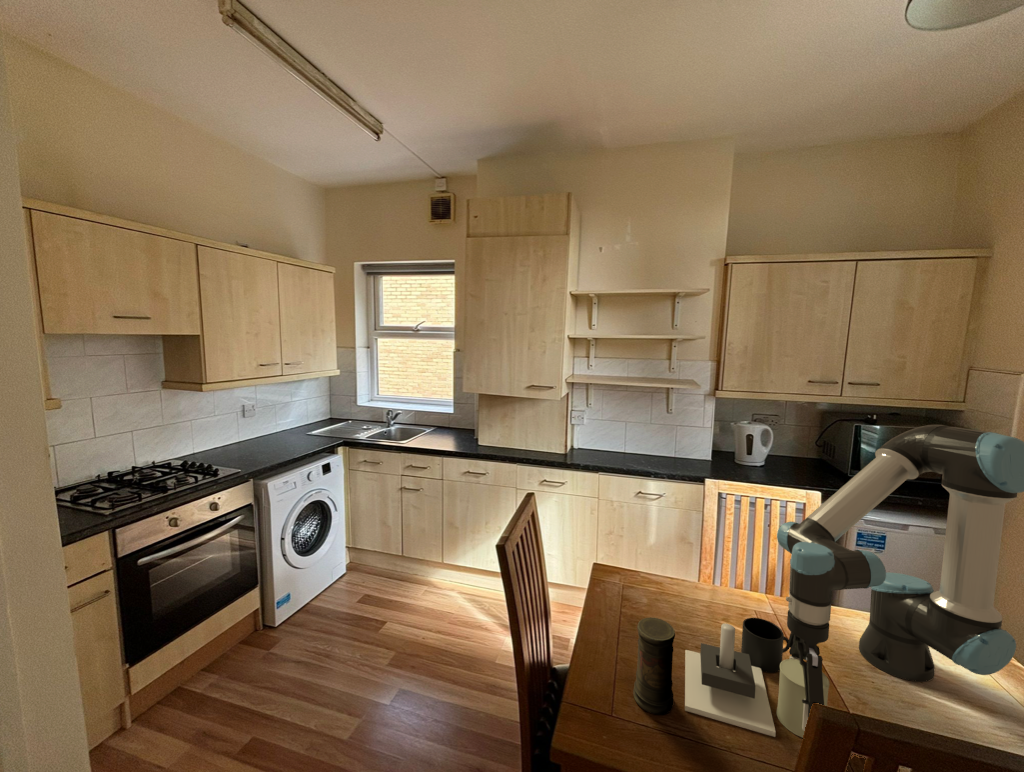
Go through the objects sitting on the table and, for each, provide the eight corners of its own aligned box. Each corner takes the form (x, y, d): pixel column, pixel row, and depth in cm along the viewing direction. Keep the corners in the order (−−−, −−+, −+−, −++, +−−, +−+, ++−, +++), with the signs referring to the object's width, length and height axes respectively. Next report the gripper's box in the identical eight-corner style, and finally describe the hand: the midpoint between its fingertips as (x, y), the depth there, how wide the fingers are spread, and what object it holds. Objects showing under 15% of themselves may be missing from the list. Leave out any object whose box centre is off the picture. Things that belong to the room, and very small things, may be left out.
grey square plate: (748, 665, 108) (749, 654, 108) (754, 698, 98) (755, 686, 98) (700, 653, 112) (700, 642, 112) (701, 684, 102) (702, 672, 102)
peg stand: (760, 672, 111) (764, 612, 110) (775, 737, 93) (779, 666, 91) (685, 653, 118) (687, 597, 116) (684, 710, 99) (687, 644, 98)
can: (824, 716, 98) (828, 666, 97) (827, 748, 90) (831, 694, 89) (776, 698, 103) (779, 651, 102) (775, 727, 95) (779, 676, 94)
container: (629, 684, 107) (631, 615, 106) (666, 685, 107) (668, 616, 105) (639, 715, 98) (641, 640, 97) (679, 716, 98) (682, 641, 96)
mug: (799, 674, 111) (802, 641, 110) (752, 672, 111) (753, 639, 110) (778, 649, 120) (780, 618, 119) (734, 647, 120) (736, 616, 120)
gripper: (777, 583, 107) (772, 663, 109) (802, 647, 84) (795, 748, 86) (813, 589, 104) (807, 672, 106) (849, 658, 81) (841, 761, 83)
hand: (802, 706), depth 96 cm, fingers open, 13 cm apart
